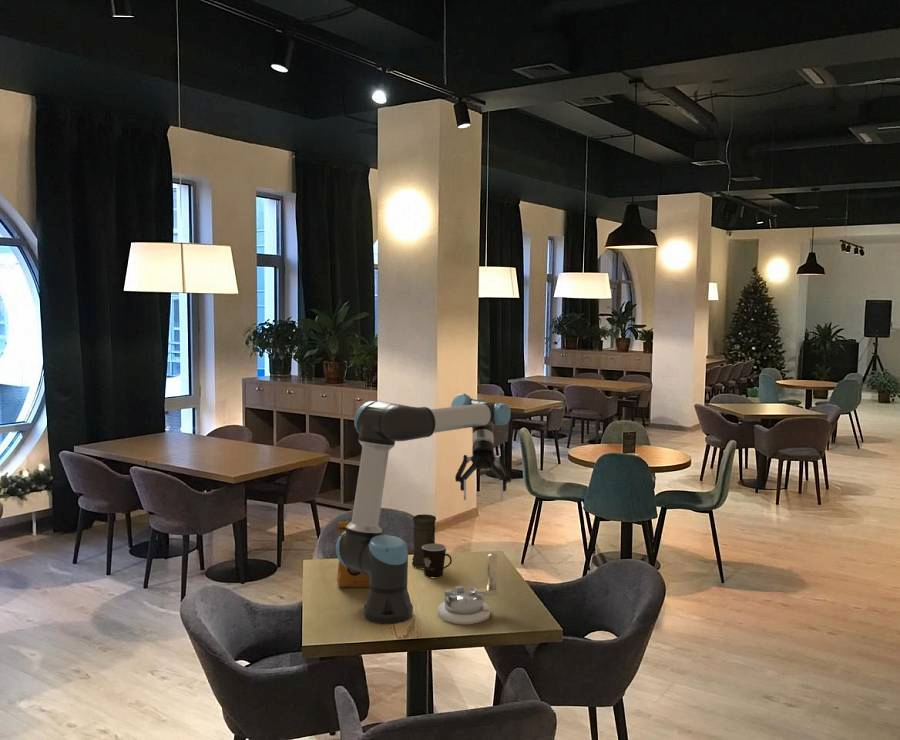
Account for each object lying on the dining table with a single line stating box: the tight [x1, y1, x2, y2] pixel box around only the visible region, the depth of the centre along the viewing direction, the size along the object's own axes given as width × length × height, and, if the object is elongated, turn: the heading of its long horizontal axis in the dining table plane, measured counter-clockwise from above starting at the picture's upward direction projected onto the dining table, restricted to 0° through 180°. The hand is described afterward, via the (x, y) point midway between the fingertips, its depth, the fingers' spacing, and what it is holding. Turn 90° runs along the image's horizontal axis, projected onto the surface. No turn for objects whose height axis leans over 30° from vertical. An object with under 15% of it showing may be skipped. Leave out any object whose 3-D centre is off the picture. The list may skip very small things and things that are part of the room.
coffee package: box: [336, 521, 370, 588], centre depth 278 cm, size 10×12×22 cm
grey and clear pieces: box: [444, 552, 499, 615], centre depth 253 cm, size 16×12×16 cm
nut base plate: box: [437, 601, 491, 625], centre depth 254 cm, size 16×16×2 cm
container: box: [411, 514, 437, 569], centre depth 299 cm, size 9×9×18 cm
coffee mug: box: [422, 543, 453, 578], centre depth 288 cm, size 12×9×10 cm
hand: (483, 498), depth 276 cm, fingers open, 12 cm apart
